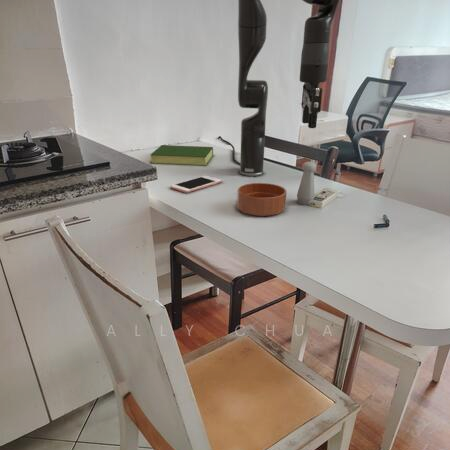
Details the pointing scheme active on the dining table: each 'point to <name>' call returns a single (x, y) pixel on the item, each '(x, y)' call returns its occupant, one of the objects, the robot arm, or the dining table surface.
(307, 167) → the salt shaker
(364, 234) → the dining table surface
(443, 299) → the dining table surface
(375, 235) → the dining table surface
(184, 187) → the cell phone
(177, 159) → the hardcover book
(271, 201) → the bowl
